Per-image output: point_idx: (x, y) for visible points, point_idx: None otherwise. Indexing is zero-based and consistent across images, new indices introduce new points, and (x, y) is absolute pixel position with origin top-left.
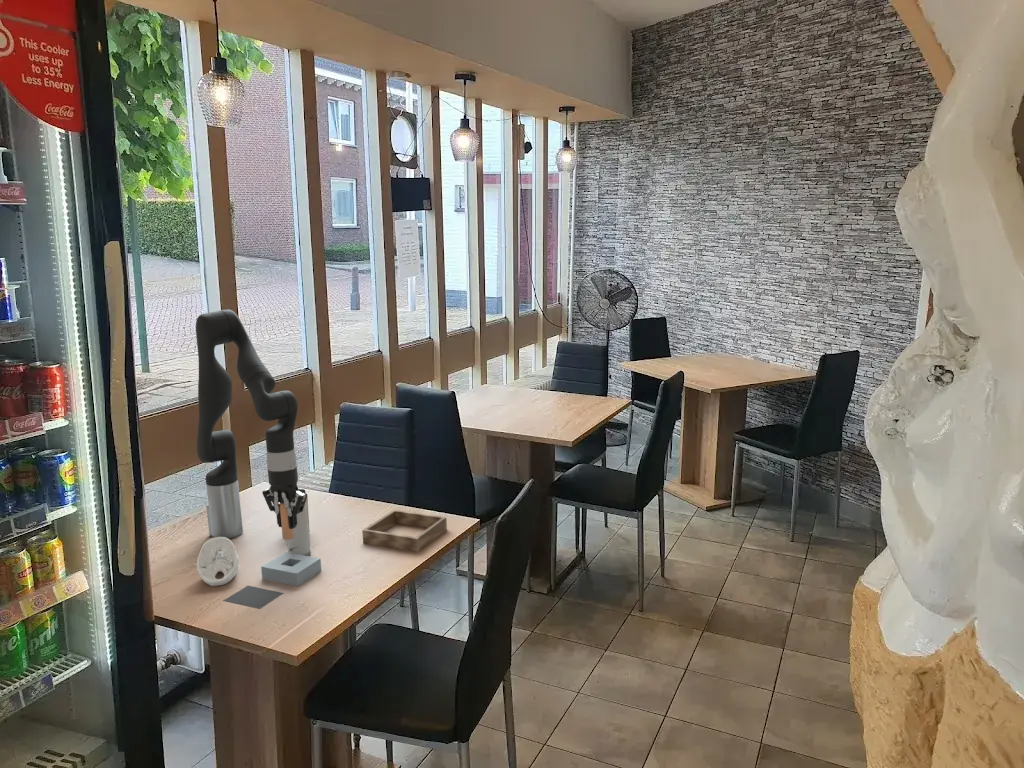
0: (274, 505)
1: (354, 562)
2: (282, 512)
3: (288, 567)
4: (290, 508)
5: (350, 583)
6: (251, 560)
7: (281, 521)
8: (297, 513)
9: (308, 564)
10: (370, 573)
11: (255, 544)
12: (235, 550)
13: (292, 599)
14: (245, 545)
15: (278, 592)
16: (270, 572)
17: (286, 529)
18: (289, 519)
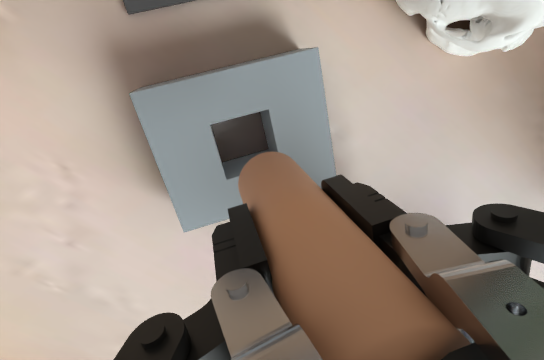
0: (498, 261)
1: (160, 301)
2: (333, 253)
3: (215, 110)
4: (231, 357)
5: (19, 219)
6: (437, 123)
7: (321, 198)
8: (129, 346)
9: (171, 175)
10: (43, 295)
11: (493, 192)
12: (485, 37)
13: (56, 3)
14: (514, 172)
15: (148, 3)
16: (268, 58)
17: (261, 185)
18: (245, 245)
